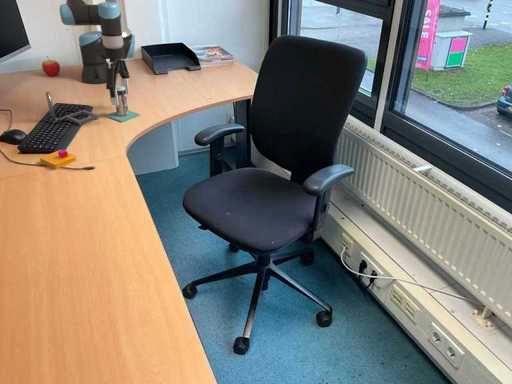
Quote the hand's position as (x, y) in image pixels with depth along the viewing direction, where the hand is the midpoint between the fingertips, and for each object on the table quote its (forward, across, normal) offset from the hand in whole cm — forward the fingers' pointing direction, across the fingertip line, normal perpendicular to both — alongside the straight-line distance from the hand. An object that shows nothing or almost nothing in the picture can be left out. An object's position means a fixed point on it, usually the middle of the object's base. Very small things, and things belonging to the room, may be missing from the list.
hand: (120, 99), depth 173 cm
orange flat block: (+8, +43, -8) cm, 44 cm away
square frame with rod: (+7, +8, -18) cm, 21 cm away
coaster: (+7, 0, 0) cm, 7 cm away
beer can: (+7, 0, 0) cm, 7 cm away
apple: (+7, -50, -54) cm, 74 cm away
